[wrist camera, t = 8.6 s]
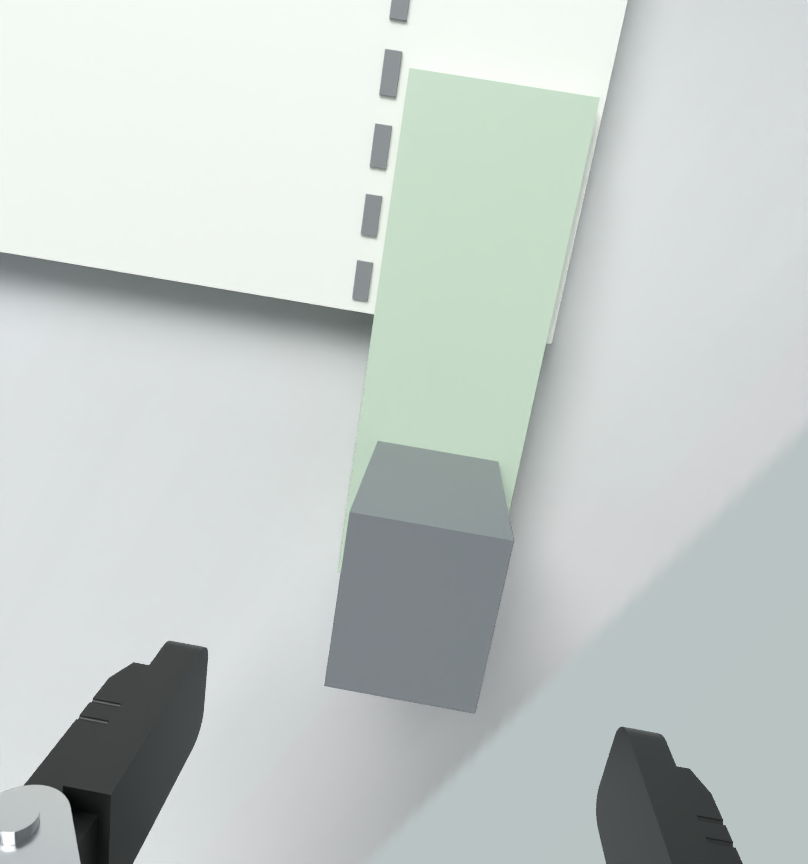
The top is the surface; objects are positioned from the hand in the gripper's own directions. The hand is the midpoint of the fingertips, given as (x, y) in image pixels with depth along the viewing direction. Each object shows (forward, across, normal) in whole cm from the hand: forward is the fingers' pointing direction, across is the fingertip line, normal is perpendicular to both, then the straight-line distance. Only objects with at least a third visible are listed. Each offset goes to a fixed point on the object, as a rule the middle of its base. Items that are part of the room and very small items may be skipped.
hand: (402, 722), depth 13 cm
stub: (+11, 0, -5) cm, 12 cm away
